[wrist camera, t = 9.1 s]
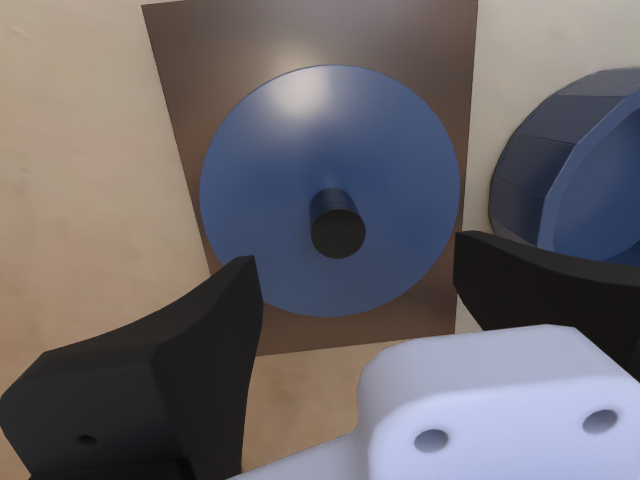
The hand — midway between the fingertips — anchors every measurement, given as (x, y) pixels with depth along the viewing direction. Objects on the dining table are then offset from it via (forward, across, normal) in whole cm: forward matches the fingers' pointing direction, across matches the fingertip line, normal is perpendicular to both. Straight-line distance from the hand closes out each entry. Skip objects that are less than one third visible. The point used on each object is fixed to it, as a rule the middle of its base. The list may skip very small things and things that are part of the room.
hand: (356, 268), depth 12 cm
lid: (+7, 0, 0) cm, 7 cm away
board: (+9, 0, 0) cm, 9 cm away
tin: (+9, -16, +1) cm, 18 cm away
